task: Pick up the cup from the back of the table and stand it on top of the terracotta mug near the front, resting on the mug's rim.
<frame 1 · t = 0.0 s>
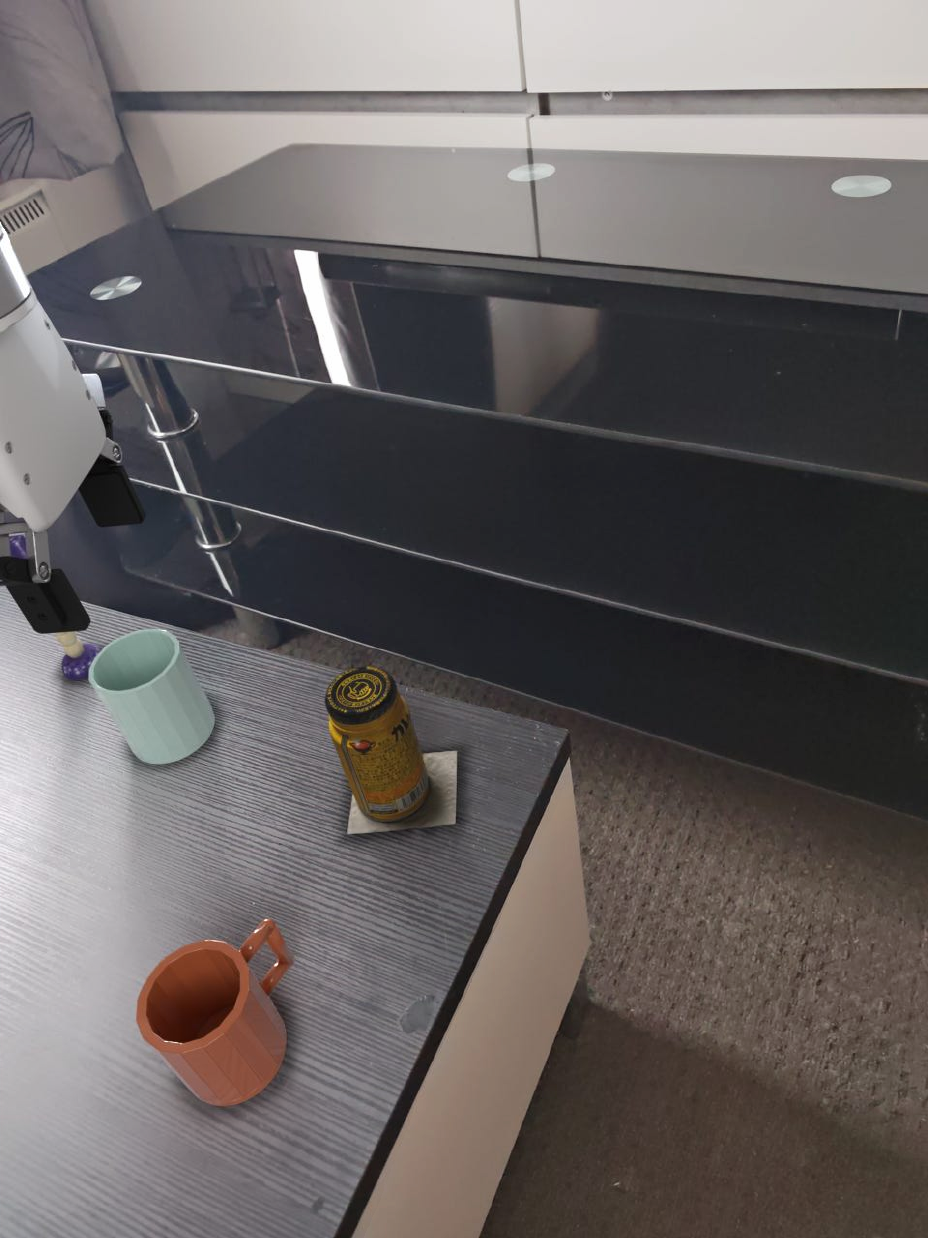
hand: (95, 572, 54), 27 cm above the table, tool pointing down, fingers open, 9 cm apart
mug: (236, 1050, 59), on the table
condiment: (404, 794, 73), on the table
cup: (173, 730, 82), on the table
toy lamp: (86, 668, 90), on the table
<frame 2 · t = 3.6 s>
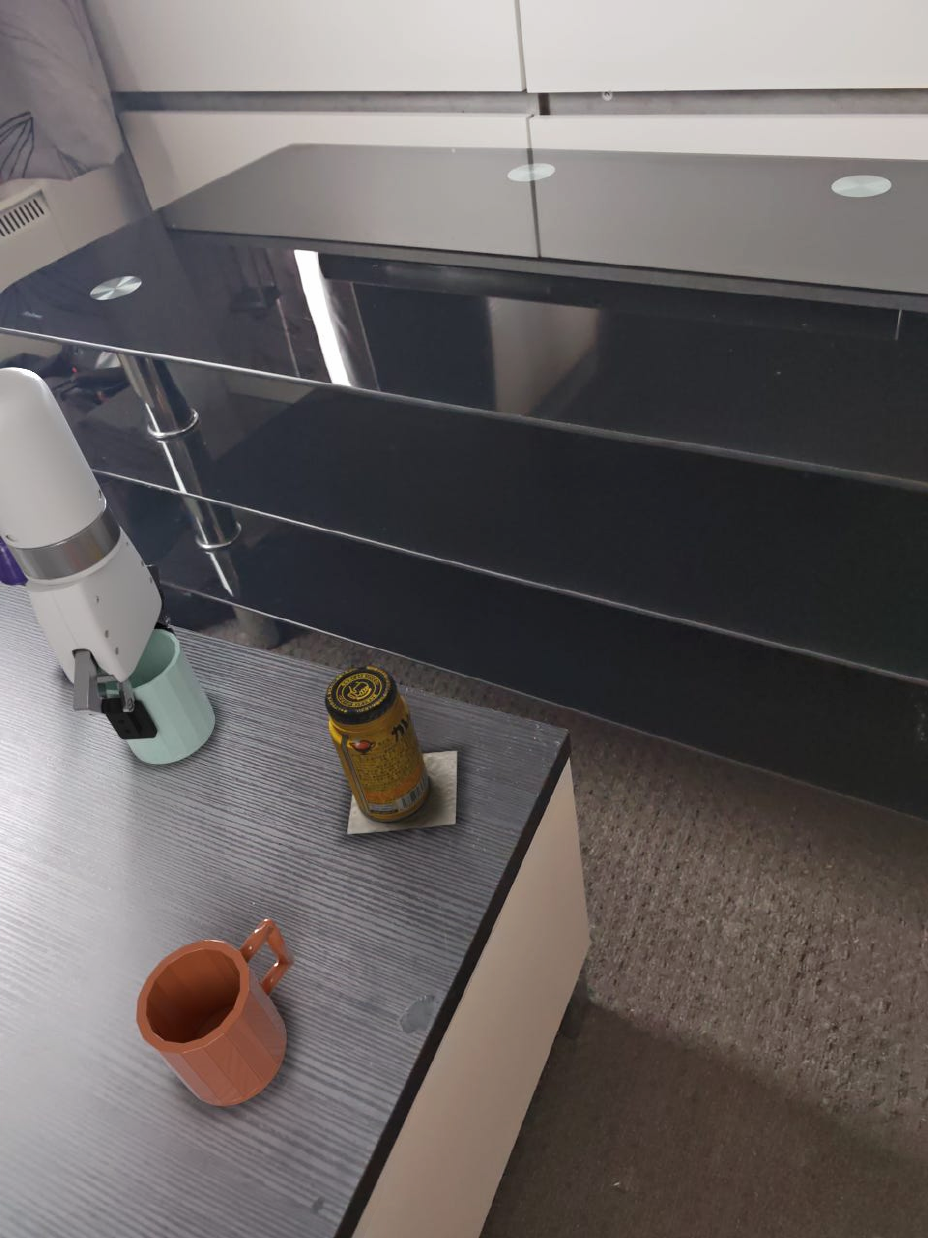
hand: (155, 697, 79), 4 cm above the table, tool pointing down, fingers closed on cup, 7 cm apart
cup: (173, 730, 82), on the table, touching gripper
everything else where it was.
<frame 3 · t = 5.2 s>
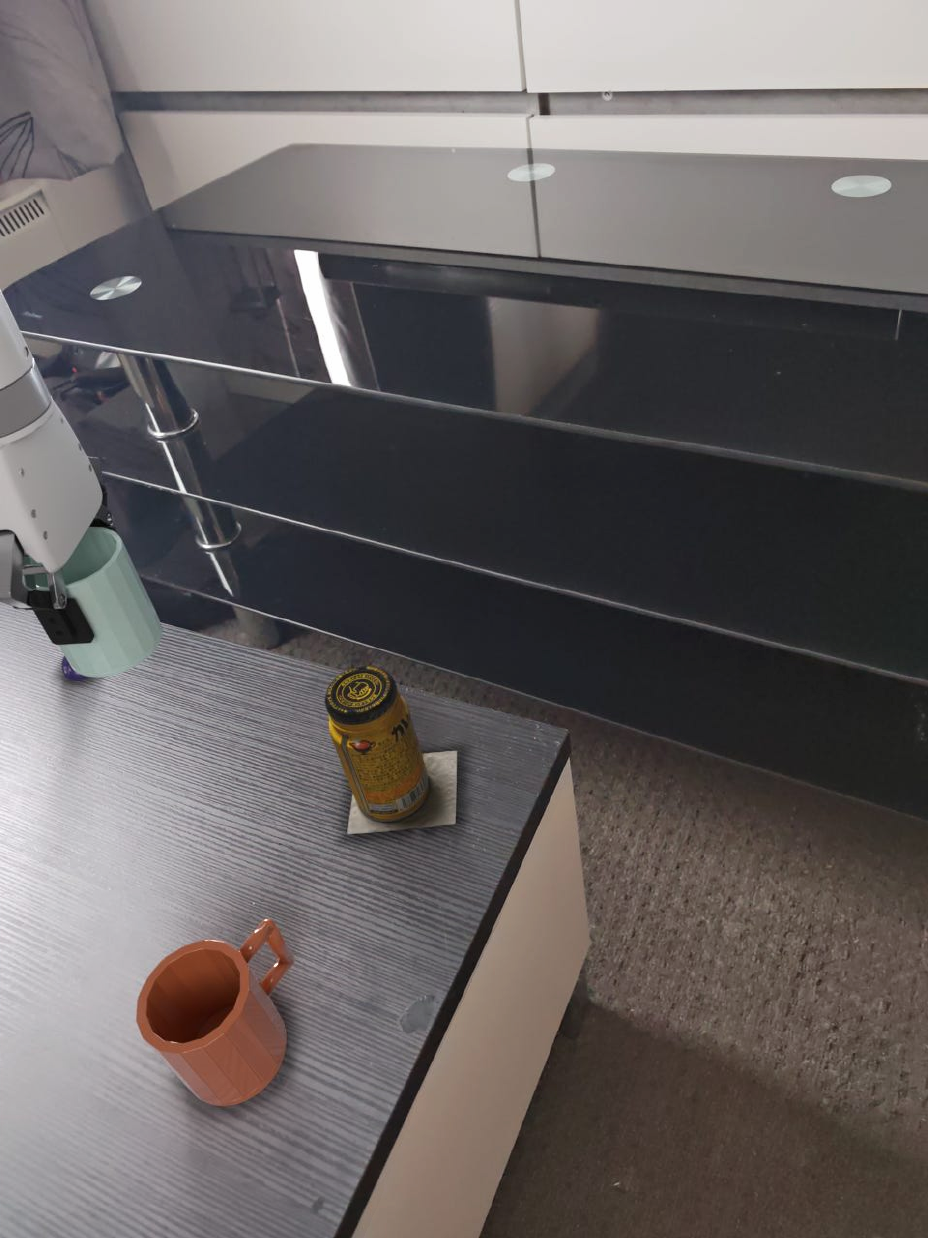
hand: (94, 603, 71), 16 cm above the table, tool pointing down, fingers closed on cup, 7 cm apart
cup: (116, 644, 74), point 11 cm above the table, touching gripper
everything else where it was.
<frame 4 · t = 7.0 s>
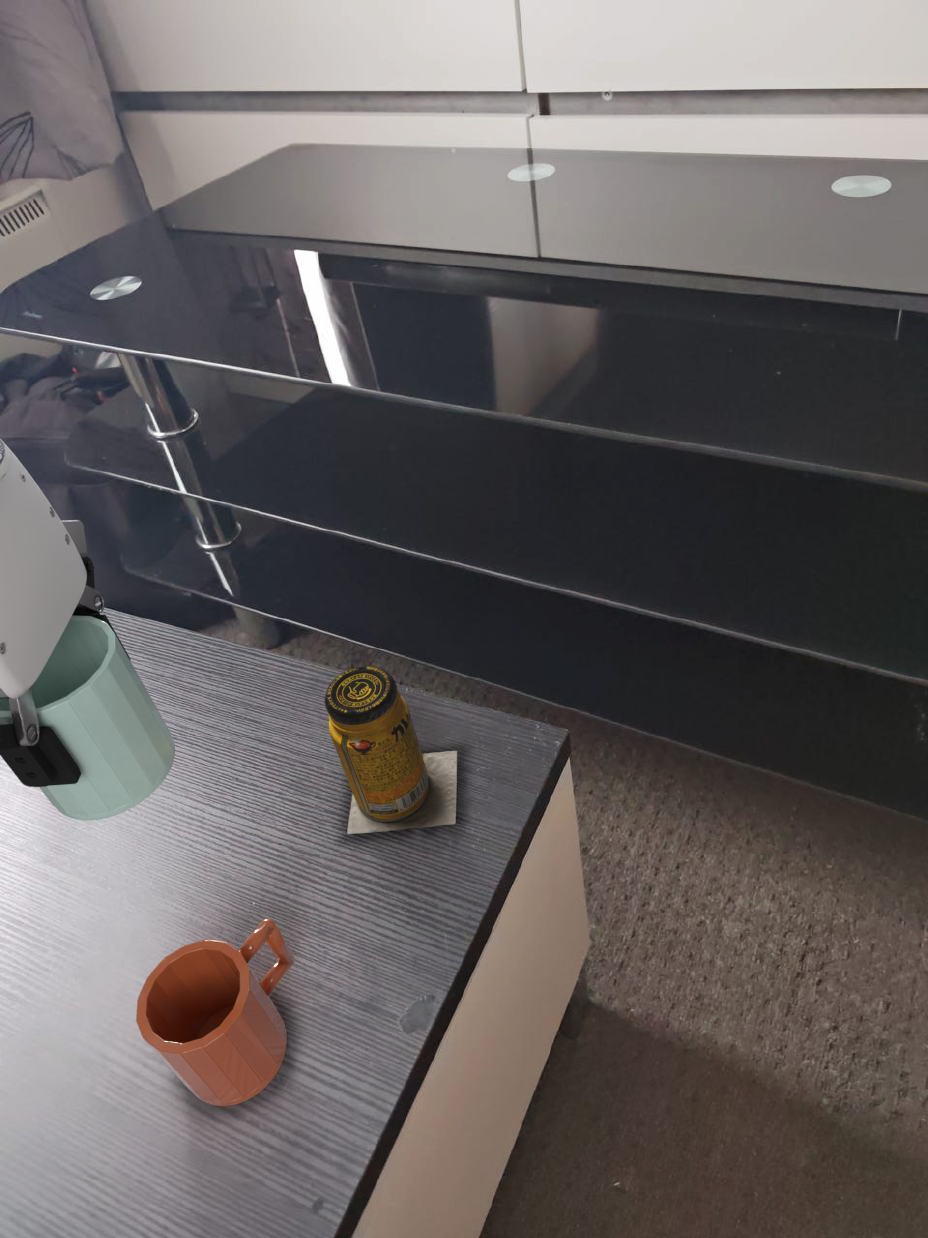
hand: (81, 720, 52), 22 cm above the table, tool pointing down, fingers closed on cup, 7 cm apart
cup: (113, 768, 55), point 18 cm above the table, touching gripper
everything else where it was.
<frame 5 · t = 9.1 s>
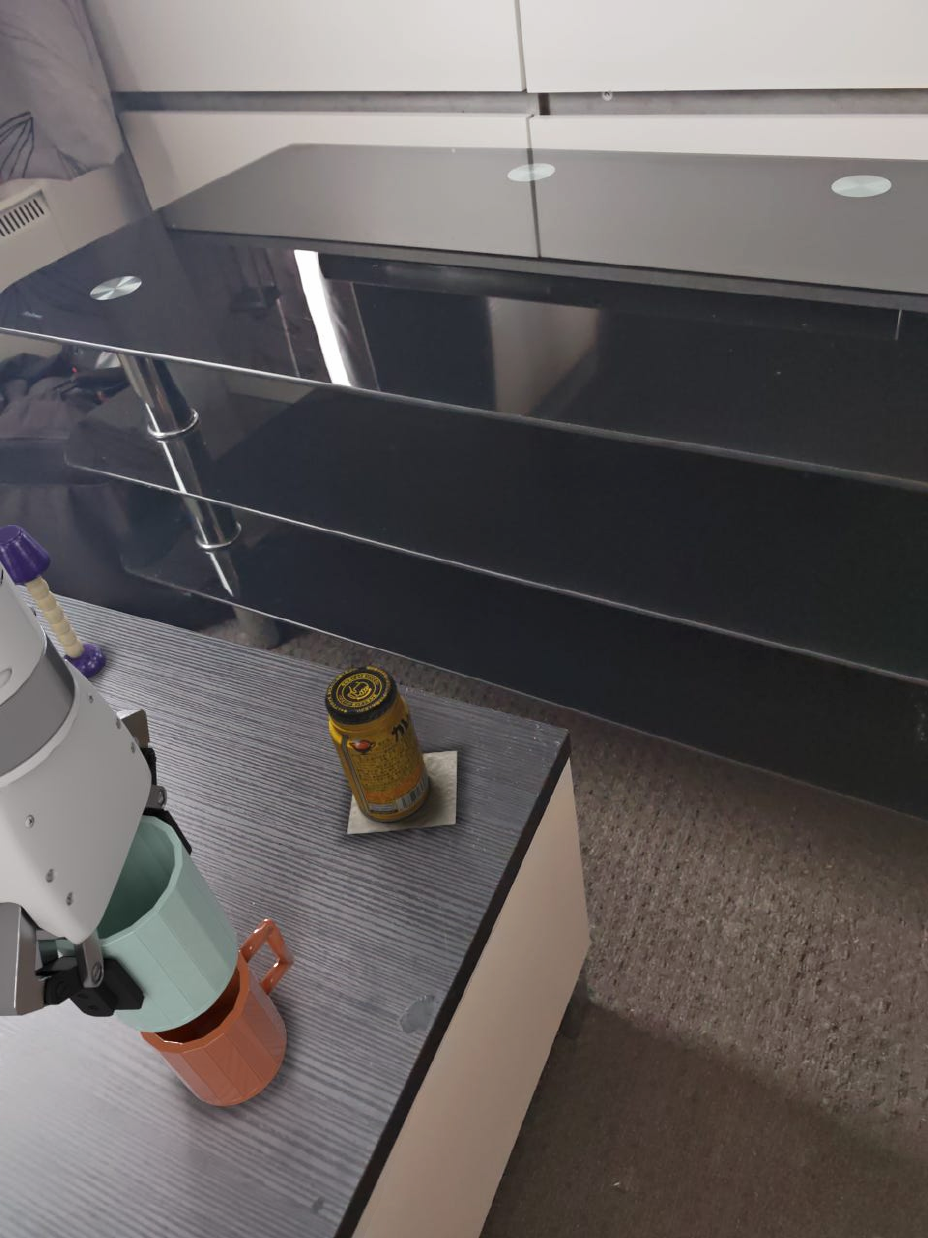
hand: (142, 925, 49), 16 cm above the table, tool pointing down, fingers closed on cup, 7 cm apart
cup: (173, 965, 52), point 12 cm above the table, touching gripper
everything else where it was.
when the fingers open (12 cm above the table, at t = 10.7 s): cup stays where it is, resting on mug.
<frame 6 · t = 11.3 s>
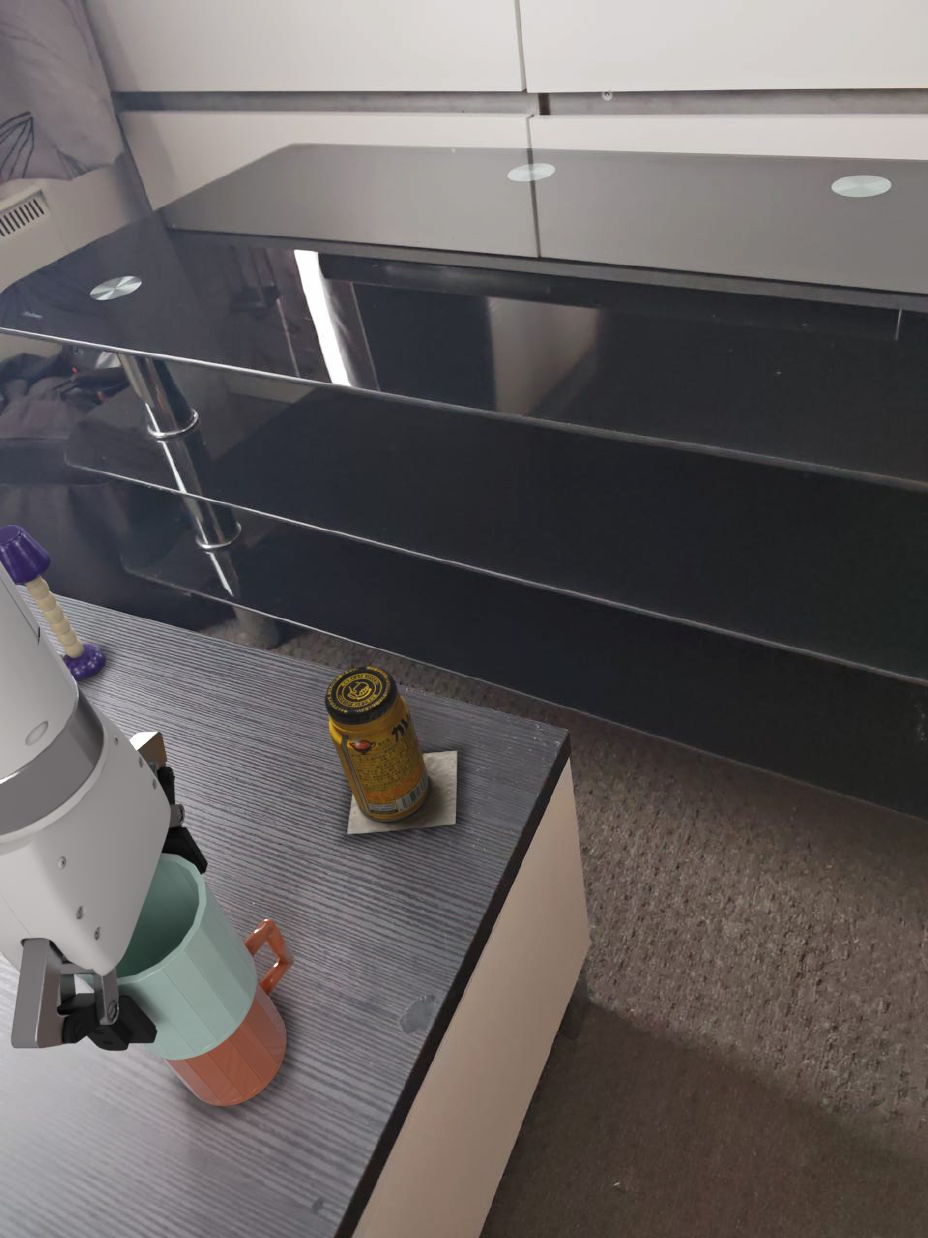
hand: (157, 948, 51), 13 cm above the table, tool pointing down, fingers open, 9 cm apart
cup: (194, 994, 54), point 8 cm above the table, touching mug
everything else where it was.
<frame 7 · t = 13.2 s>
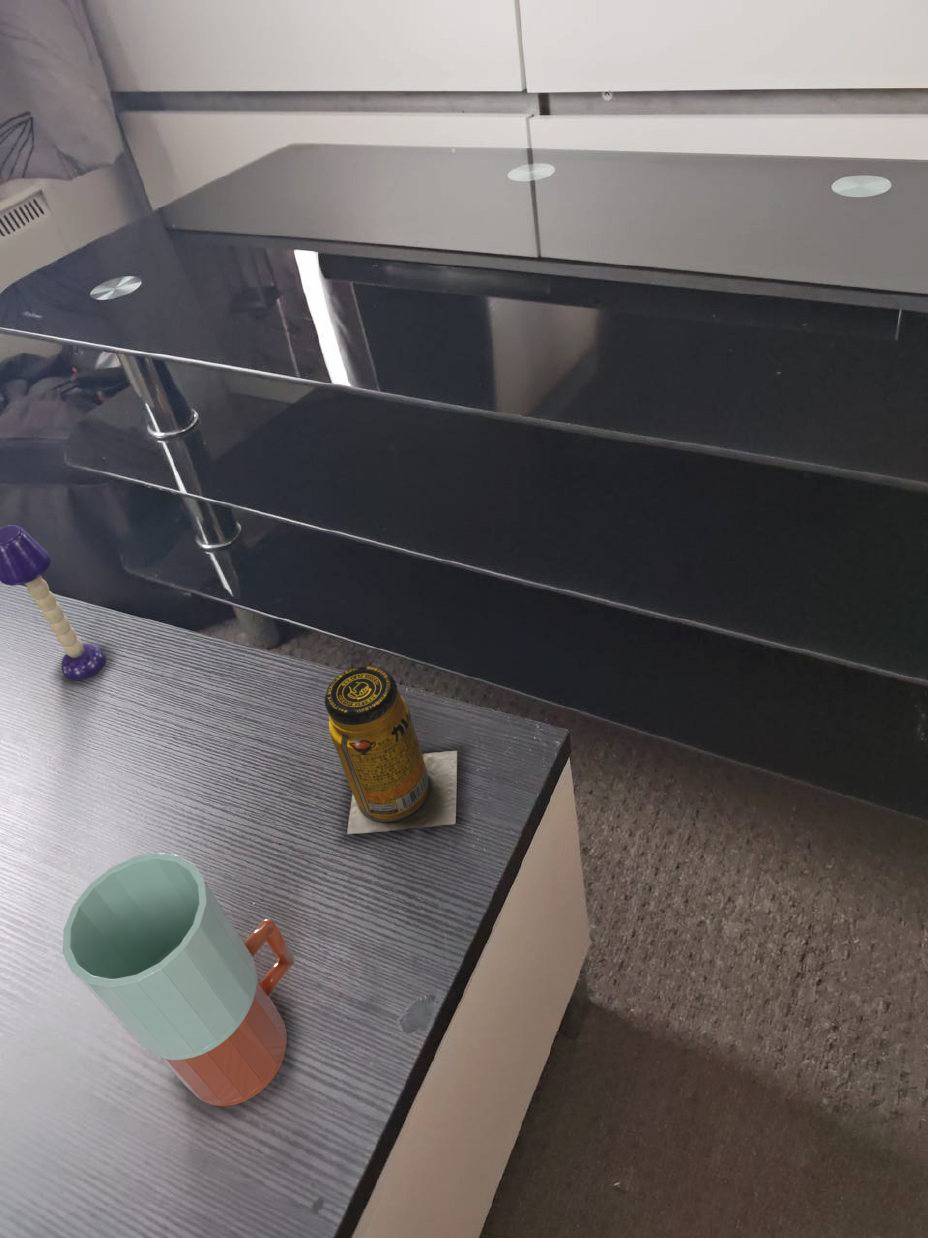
nothing on the table moved.
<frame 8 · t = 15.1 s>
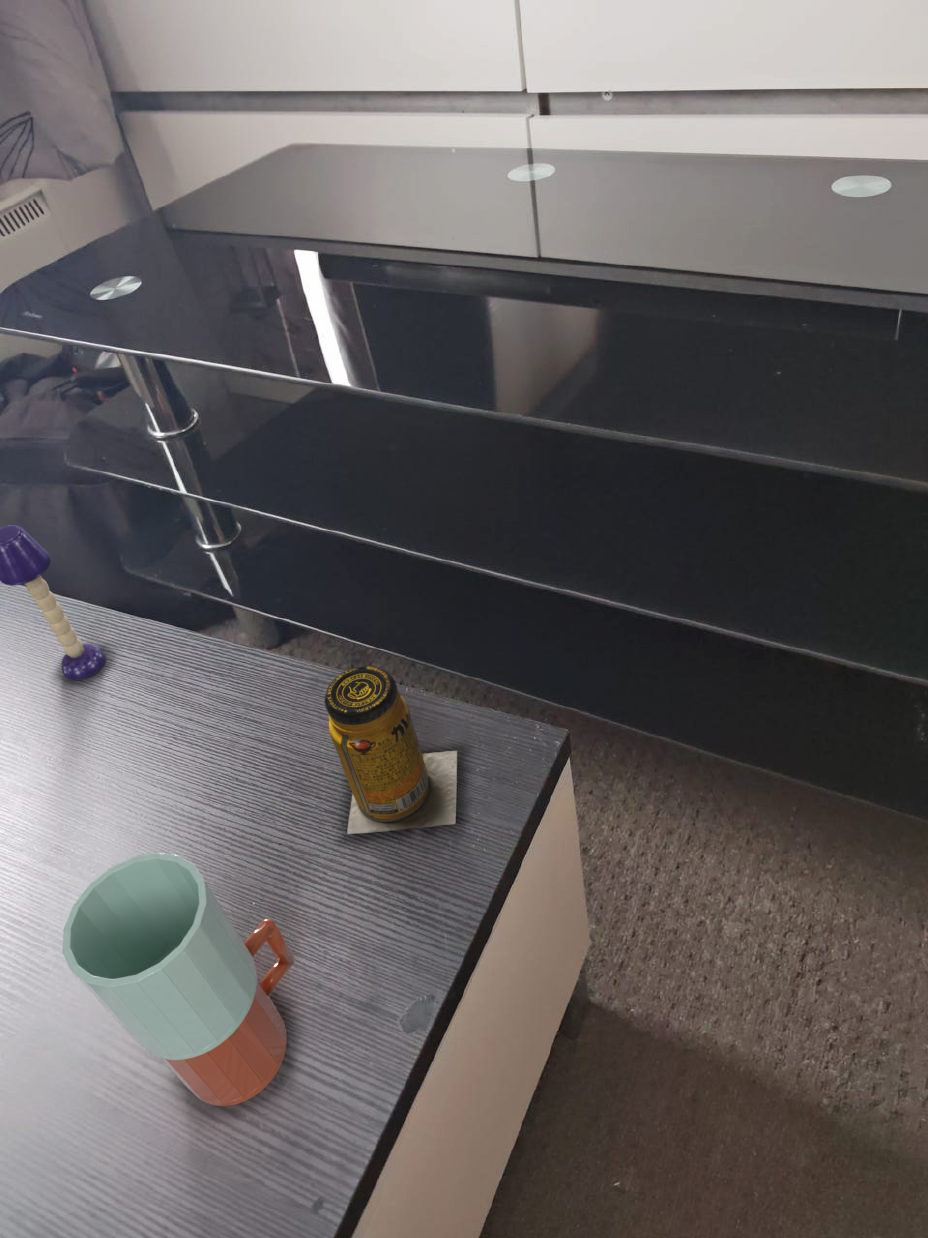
nothing on the table moved.
at the end: cup 0.1 cm off-centre on the mug, point 8.0 cm above the mug's base; cup tilted 0°; the gripper is holding nothing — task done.
